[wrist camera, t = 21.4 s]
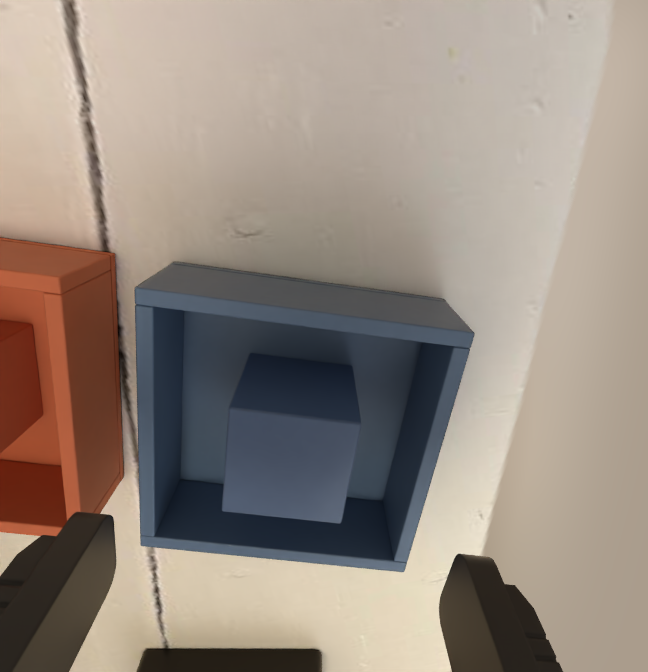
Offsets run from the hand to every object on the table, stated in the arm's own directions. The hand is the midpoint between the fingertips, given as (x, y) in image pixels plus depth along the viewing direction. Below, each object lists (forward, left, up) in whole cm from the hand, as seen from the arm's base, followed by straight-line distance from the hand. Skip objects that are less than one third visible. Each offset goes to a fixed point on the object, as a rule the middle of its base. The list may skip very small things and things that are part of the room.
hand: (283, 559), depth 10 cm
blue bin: (+1, 0, -10) cm, 10 cm away
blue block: (+1, 0, -9) cm, 9 cm away
